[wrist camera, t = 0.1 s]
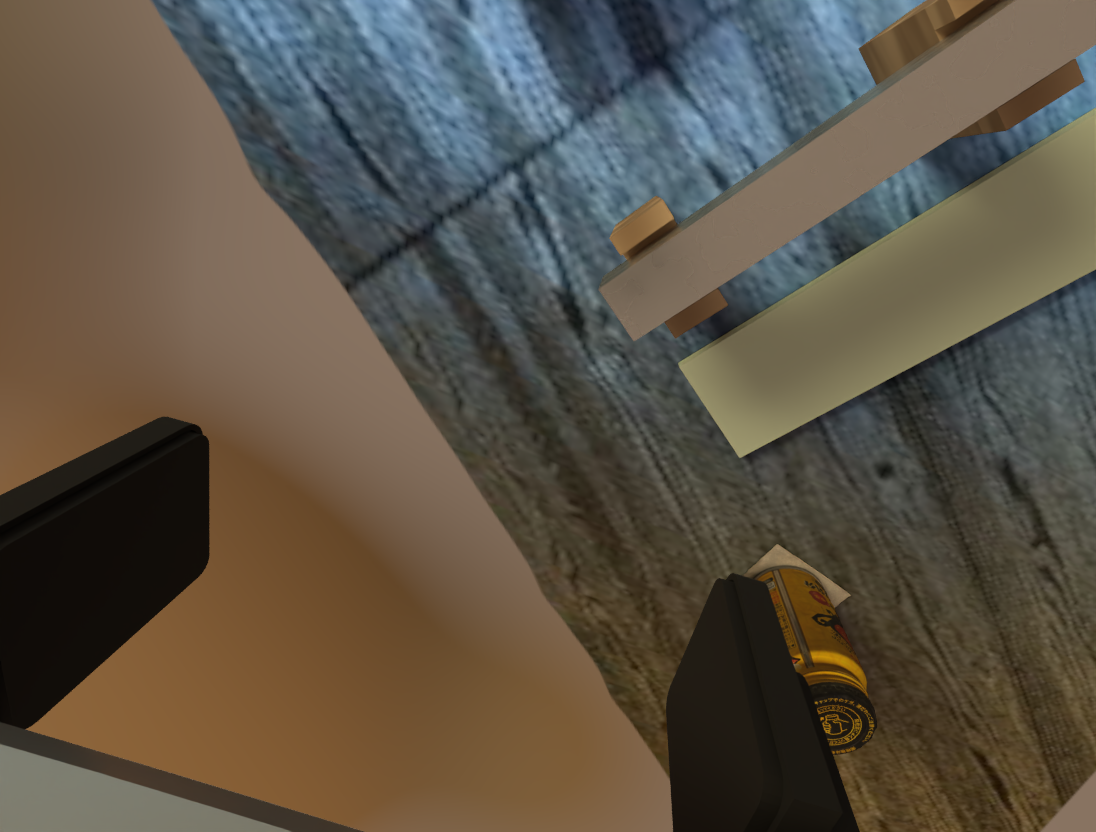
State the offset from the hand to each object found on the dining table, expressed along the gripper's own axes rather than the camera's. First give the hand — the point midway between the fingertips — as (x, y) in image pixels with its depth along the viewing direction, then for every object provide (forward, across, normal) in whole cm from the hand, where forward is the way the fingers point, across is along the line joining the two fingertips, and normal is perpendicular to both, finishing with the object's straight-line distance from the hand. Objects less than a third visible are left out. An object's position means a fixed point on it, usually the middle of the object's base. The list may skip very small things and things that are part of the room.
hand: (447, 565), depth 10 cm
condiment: (+31, -21, +20) cm, 43 cm away
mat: (+31, -19, -4) cm, 37 cm away
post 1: (+31, -4, -3) cm, 32 cm away
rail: (+23, -9, -9) cm, 27 cm away
